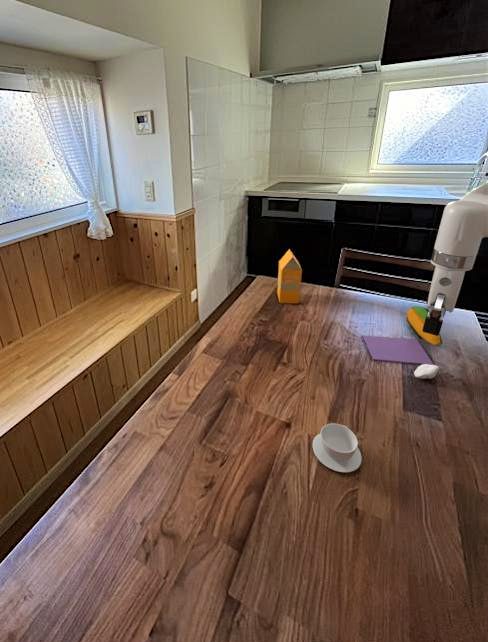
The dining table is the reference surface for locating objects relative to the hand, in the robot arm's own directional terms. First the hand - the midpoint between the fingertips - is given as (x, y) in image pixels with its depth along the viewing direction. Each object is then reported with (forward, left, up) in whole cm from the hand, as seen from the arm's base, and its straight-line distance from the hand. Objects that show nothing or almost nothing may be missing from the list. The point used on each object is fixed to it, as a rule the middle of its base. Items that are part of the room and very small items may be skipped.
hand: (433, 323), depth 81 cm
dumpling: (-5, -6, -21) cm, 22 cm away
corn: (-12, -27, -21) cm, 36 cm away
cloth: (-1, -17, -21) cm, 27 cm away
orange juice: (+30, -47, -21) cm, 60 cm away
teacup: (+23, +23, -21) cm, 39 cm away
